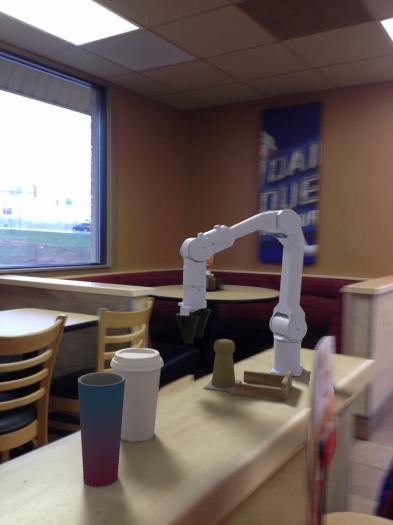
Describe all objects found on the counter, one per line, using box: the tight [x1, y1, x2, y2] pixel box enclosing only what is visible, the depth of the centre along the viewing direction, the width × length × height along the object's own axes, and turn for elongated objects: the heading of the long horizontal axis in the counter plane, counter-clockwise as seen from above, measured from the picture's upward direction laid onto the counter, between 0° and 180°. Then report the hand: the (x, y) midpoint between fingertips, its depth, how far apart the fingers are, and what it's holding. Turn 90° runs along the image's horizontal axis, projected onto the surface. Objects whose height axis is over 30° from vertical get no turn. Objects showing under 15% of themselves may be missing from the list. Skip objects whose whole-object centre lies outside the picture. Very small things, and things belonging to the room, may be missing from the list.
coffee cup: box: [110, 347, 165, 443], centre depth 85 cm, size 10×10×15 cm
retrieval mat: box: [203, 379, 242, 393], centre depth 116 cm, size 9×7×1 cm
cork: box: [211, 338, 236, 388], centre depth 115 cm, size 6×6×11 cm
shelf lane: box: [232, 369, 293, 402], centre depth 112 cm, size 12×12×4 cm
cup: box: [77, 371, 125, 488], centre depth 70 cm, size 7×7×15 cm
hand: (193, 340), depth 118 cm, fingers open, 7 cm apart
